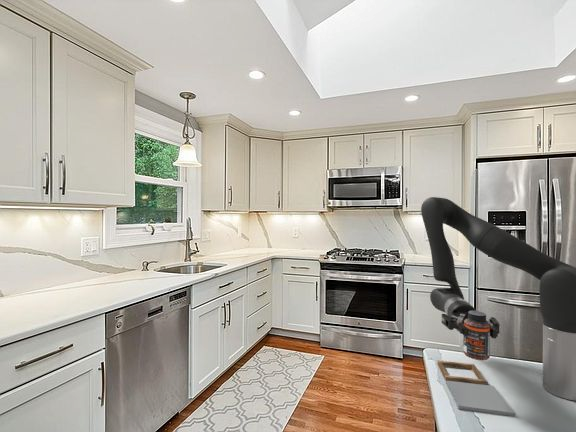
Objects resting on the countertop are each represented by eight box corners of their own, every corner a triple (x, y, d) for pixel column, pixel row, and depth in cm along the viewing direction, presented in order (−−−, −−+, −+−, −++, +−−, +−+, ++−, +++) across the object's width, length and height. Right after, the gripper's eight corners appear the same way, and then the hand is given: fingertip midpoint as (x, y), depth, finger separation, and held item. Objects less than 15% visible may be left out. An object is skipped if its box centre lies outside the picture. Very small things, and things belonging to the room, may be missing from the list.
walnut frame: (473, 368, 98) (473, 364, 98) (486, 385, 88) (486, 381, 88) (437, 364, 101) (437, 360, 101) (445, 381, 90) (445, 376, 90)
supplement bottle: (463, 358, 81) (463, 314, 81) (463, 349, 86) (463, 307, 86) (491, 363, 78) (491, 317, 78) (489, 353, 83) (489, 311, 83)
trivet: (493, 388, 86) (493, 385, 86) (514, 416, 75) (514, 412, 75) (445, 383, 89) (445, 380, 89) (458, 408, 77) (458, 405, 77)
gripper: (434, 298, 98) (449, 316, 81) (487, 301, 94) (513, 321, 78) (434, 323, 98) (448, 345, 81) (487, 327, 94) (512, 351, 78)
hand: (480, 333), depth 80 cm, fingers closed on supplement bottle, 6 cm apart
